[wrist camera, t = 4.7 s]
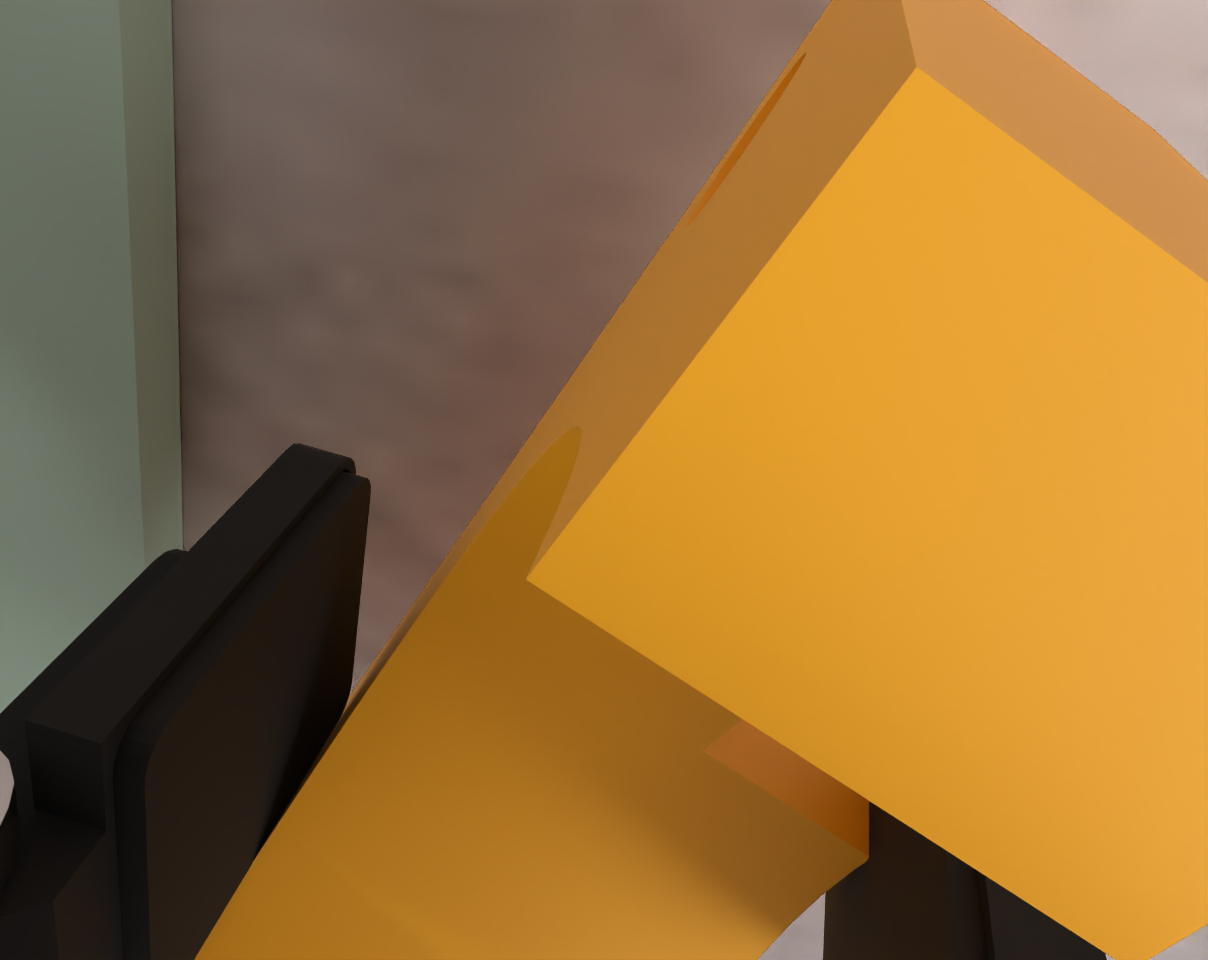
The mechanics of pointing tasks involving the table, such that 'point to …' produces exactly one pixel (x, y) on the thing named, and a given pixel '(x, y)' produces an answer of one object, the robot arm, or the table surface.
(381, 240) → the table surface
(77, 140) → the plate
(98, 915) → the robot arm
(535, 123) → the table surface
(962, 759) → the pipe clamp
